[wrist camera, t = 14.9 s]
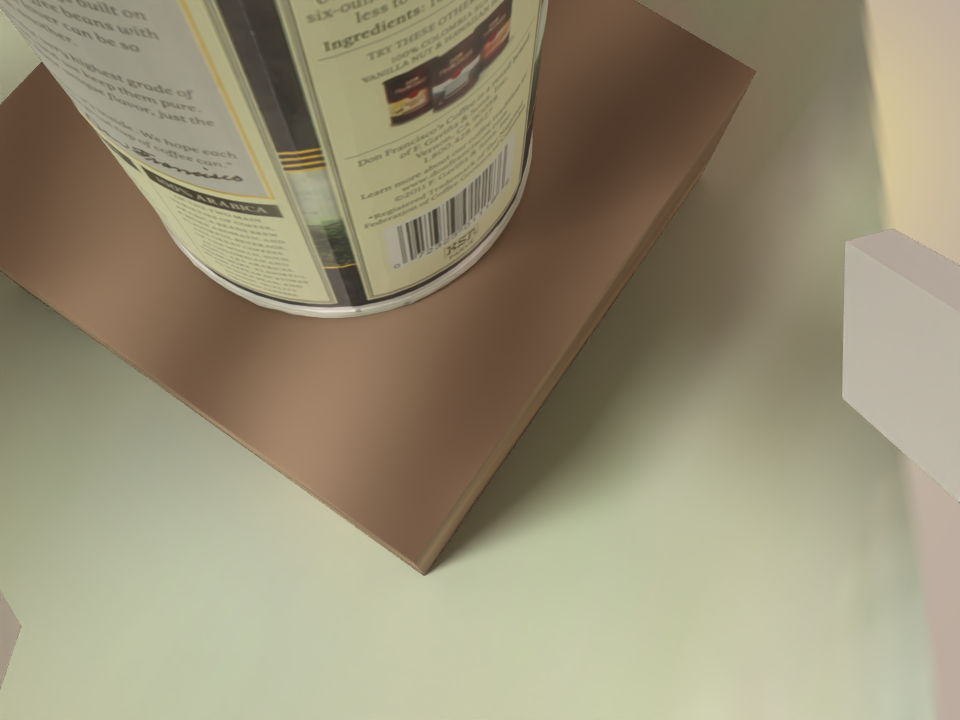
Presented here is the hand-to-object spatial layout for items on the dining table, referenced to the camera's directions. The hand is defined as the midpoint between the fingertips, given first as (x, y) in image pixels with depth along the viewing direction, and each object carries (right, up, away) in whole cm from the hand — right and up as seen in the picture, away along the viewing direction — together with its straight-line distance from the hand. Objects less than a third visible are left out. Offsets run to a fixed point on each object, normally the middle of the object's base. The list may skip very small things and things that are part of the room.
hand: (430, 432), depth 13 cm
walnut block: (-3, +5, +17) cm, 18 cm away
